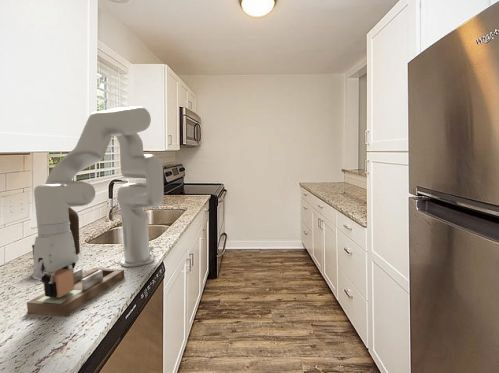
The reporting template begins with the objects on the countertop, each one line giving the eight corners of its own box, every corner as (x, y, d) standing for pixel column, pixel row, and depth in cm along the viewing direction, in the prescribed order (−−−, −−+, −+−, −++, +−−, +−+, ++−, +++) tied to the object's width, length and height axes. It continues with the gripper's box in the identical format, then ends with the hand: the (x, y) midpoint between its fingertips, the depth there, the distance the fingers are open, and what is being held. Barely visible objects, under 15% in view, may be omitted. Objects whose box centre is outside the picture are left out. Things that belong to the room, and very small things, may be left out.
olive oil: (77, 255, 133) (73, 198, 131) (49, 258, 130) (44, 199, 128) (83, 248, 143) (79, 195, 141) (58, 251, 141) (53, 196, 138)
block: (59, 288, 90) (57, 268, 89) (74, 289, 89) (72, 269, 88) (44, 296, 85) (42, 275, 84) (60, 297, 84) (58, 276, 83)
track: (94, 276, 109) (93, 259, 108) (124, 278, 107) (123, 261, 106) (27, 312, 84) (25, 291, 83) (65, 316, 81) (63, 294, 81)
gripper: (66, 221, 94) (71, 279, 96) (13, 236, 78) (20, 305, 79) (88, 222, 93) (92, 280, 94) (38, 237, 76) (45, 307, 78)
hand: (59, 291), depth 87 cm, fingers closed on block, 5 cm apart
